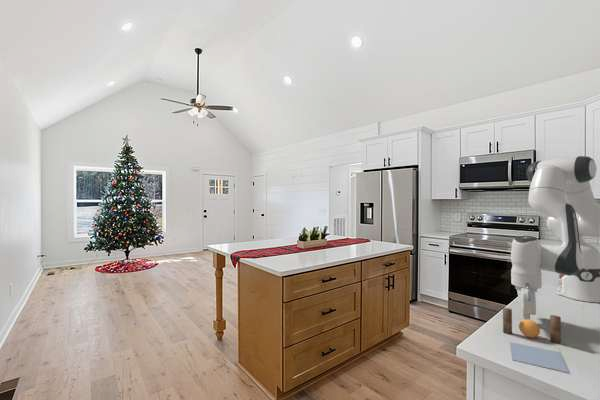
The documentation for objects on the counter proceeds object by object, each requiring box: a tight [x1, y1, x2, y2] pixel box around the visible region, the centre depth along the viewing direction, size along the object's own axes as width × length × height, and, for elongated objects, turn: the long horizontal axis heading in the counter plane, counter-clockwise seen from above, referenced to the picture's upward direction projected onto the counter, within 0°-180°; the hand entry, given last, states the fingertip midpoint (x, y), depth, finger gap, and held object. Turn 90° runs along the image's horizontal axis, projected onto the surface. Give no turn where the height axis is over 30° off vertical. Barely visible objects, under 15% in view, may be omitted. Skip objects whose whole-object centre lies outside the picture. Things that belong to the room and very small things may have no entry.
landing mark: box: [509, 341, 570, 374], centre depth 85 cm, size 12×12×1 cm
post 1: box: [502, 307, 513, 335], centre depth 100 cm, size 2×2×8 cm
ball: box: [518, 319, 541, 338], centre depth 97 cm, size 6×6×6 cm
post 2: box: [549, 314, 562, 345], centre depth 93 cm, size 2×2×8 cm
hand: (526, 318), depth 107 cm, fingers closed
